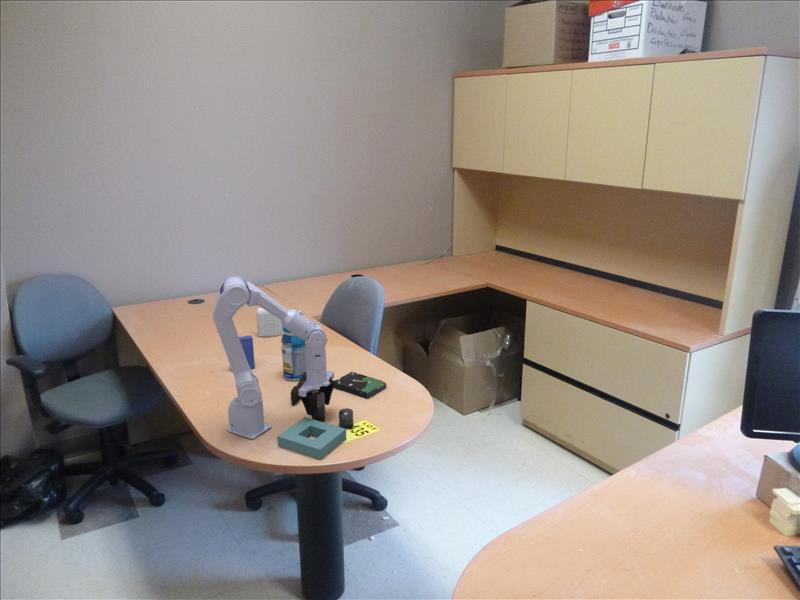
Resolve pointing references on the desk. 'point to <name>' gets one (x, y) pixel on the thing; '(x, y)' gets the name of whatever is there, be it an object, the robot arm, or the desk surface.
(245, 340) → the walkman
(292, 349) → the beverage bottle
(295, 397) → the hand tool
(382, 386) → the disk drive
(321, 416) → the tall pin
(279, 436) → the hole block
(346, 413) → the short pin
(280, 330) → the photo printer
